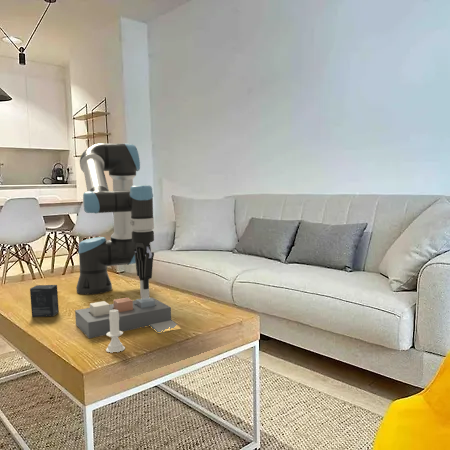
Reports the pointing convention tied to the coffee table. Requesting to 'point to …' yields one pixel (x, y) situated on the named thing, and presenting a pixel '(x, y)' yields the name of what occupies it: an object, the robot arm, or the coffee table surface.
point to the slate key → (145, 302)
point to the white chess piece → (114, 333)
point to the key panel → (122, 319)
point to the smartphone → (163, 325)
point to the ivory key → (99, 308)
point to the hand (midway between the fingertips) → (145, 297)
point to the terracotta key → (123, 304)
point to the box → (44, 300)
